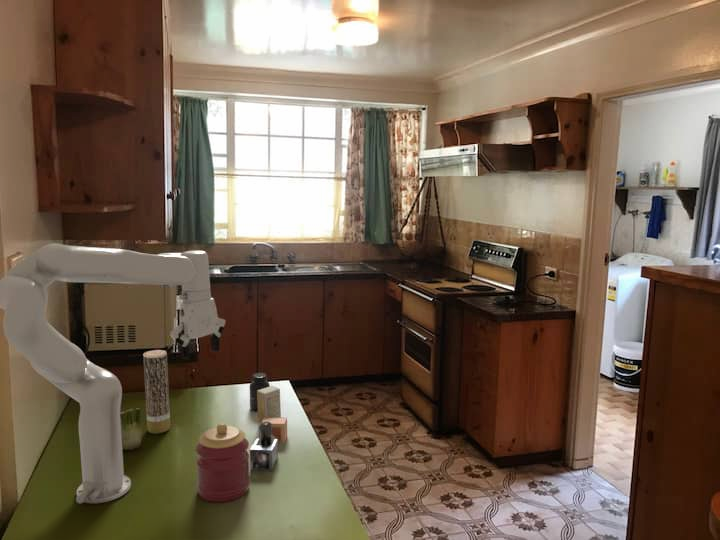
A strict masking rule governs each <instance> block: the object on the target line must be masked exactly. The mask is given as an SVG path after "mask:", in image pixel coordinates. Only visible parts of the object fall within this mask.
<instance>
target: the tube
mask: <svg viewBox="0 0 720 540" xmlns="http://www.w3.org/2000/svg"><path fill="white" fill-rule="evenodd" d="M259 428H260V446H272V444H273V442H274V439H276V437H275V436H273V435H271V422H262V423H261V424H260V427H259ZM255 461H256V463H257V465H259V466H266V465H267V464H268V462H269V452H258V454H257V456H256V459H255Z"/></svg>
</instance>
